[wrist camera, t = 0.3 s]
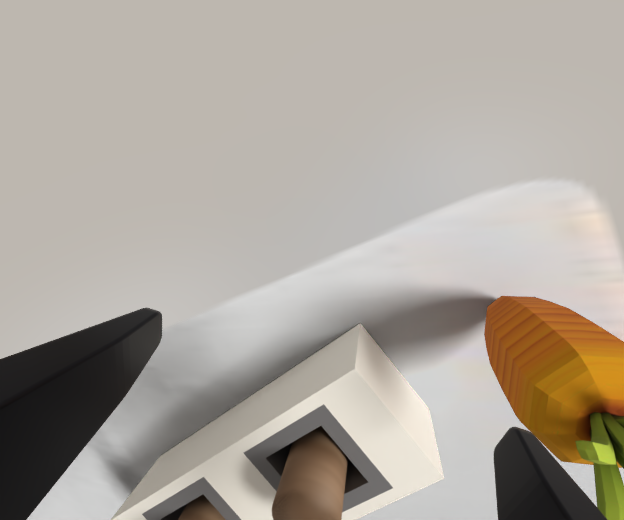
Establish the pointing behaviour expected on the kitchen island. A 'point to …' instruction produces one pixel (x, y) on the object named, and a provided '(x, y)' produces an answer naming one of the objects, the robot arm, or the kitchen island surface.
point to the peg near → (312, 480)
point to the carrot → (563, 386)
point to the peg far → (200, 510)
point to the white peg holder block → (293, 425)
